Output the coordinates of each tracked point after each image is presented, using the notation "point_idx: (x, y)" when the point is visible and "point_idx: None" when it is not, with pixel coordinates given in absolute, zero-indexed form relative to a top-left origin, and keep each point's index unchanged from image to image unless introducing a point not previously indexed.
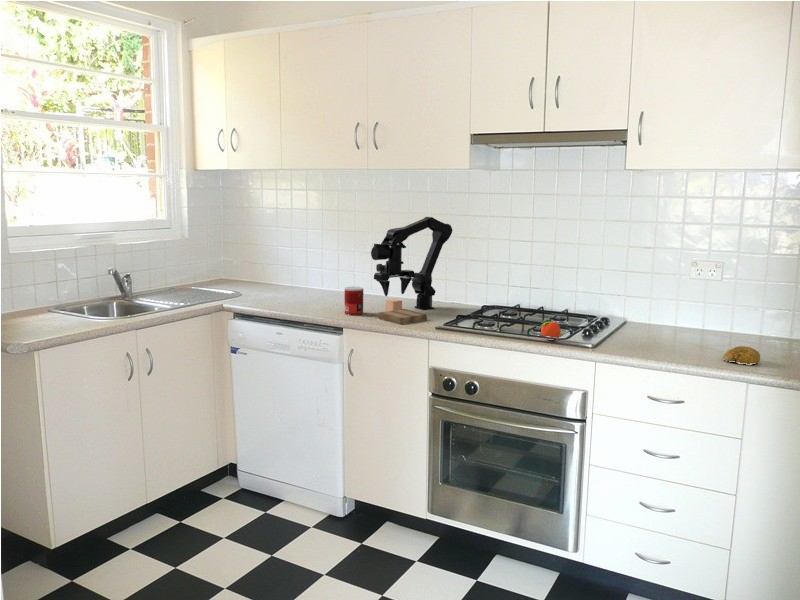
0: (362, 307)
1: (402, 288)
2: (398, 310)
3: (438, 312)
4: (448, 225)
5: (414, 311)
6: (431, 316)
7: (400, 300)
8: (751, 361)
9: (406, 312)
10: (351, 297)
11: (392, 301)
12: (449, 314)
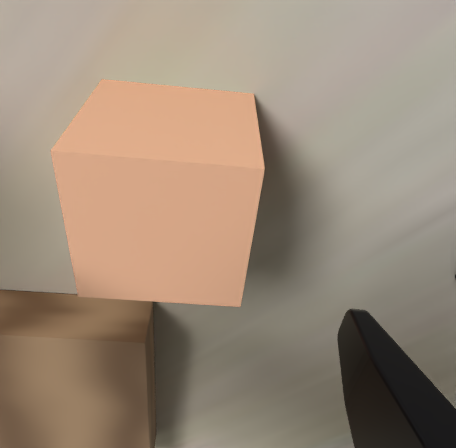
0: None
1: (377, 422)
2: (48, 356)
3: (422, 369)
4: None
5: (142, 419)
6: (266, 403)
7: (229, 291)
8: None
9: (64, 413)
10: None
11: (82, 279)
12: None
